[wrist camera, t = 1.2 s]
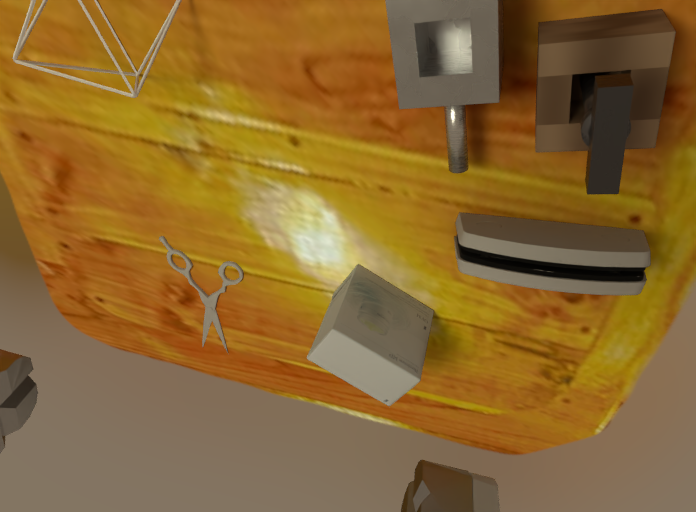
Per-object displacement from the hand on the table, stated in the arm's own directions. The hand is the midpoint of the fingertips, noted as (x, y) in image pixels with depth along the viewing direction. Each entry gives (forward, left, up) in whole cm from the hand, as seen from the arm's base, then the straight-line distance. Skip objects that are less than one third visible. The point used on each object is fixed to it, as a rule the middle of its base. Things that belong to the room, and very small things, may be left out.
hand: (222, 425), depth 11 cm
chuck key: (-10, +8, -37) cm, 39 cm away
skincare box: (+10, +33, -39) cm, 51 cm away
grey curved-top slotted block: (-8, +23, -39) cm, 45 cm away
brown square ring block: (-10, +8, -38) cm, 40 cm away
